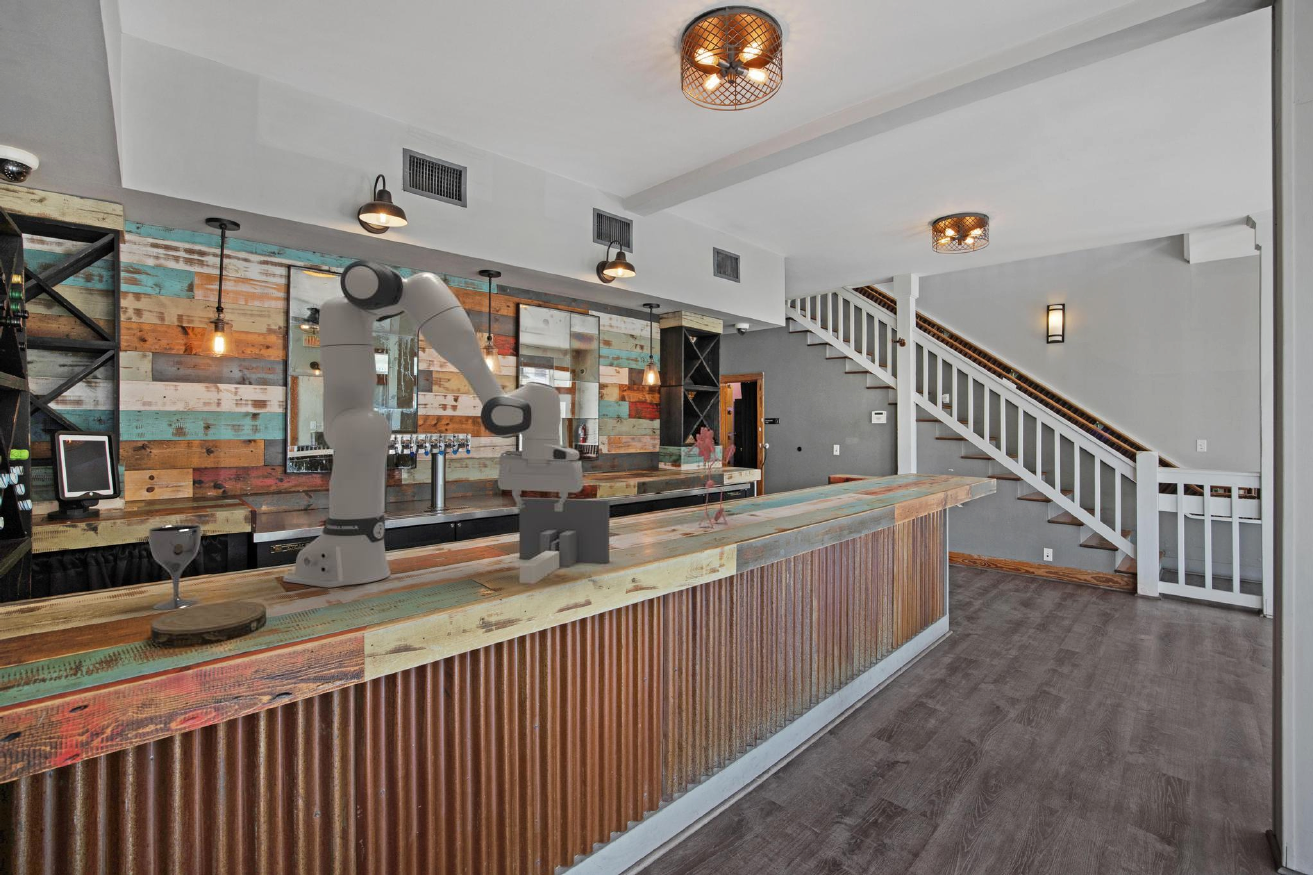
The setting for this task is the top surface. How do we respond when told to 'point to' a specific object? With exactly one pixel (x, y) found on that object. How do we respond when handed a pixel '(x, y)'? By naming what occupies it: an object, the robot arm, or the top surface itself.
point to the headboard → (565, 529)
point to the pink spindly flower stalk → (705, 450)
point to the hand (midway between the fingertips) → (539, 510)
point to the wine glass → (175, 556)
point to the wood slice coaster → (208, 624)
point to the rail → (540, 565)
